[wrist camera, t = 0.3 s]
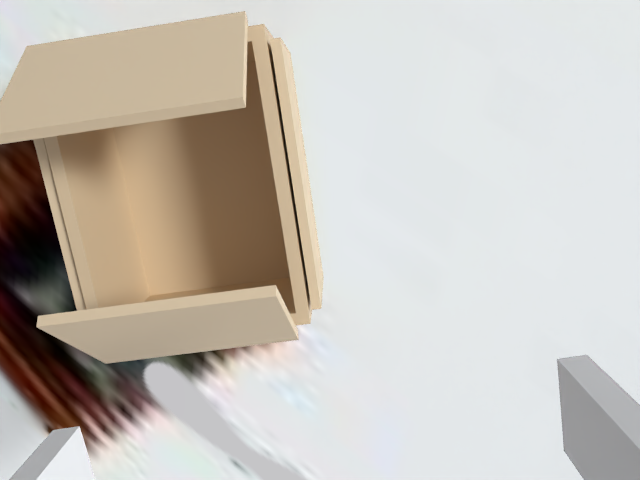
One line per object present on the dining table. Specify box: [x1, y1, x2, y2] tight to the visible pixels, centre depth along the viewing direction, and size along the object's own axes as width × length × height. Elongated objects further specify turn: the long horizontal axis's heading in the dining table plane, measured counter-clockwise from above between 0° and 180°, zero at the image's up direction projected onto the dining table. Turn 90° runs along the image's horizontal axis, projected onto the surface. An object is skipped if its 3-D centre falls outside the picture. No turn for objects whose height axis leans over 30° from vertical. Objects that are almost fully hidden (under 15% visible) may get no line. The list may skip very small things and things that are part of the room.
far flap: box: [36, 285, 299, 364], centre depth 30 cm, size 1×12×8 cm
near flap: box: [0, 11, 248, 144], centre depth 27 cm, size 1×12×8 cm
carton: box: [33, 24, 323, 325], centre depth 36 cm, size 18×16×9 cm
